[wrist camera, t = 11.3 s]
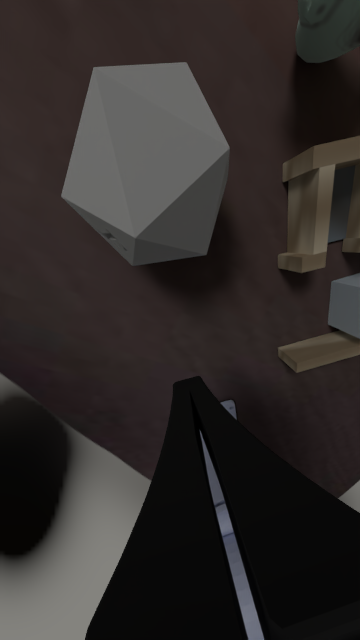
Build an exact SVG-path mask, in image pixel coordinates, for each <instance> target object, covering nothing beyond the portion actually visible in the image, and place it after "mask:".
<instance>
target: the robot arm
mask: <svg viewBox="0 0 360 640" xmlns="http://www.w3.org/2000/svg"><path fill="white" fill-rule="evenodd" d="M85 640H360V513H359V512H357V511H356V510H354V509H352V508H351V507H349V506H348V505H346V504H345V503H343V502H342V501H340V500H339V499H337V498H336V497H334V496H333V495H331V494H330V493H328V492H327V491H326V490H324V489H323V488H321V487H320V486H318V485H317V484H316V483H314V482H313V481H311V480H310V479H308V478H307V477H306V476H304V475H303V474H302V473H300V472H299V471H298V470H296V469H295V468H294V467H292V466H291V465H290V464H288V463H287V462H286V461H284V460H283V459H282V458H280V457H279V456H278V455H276V454H275V453H274V452H273V451H271V450H270V449H269V448H268V447H266V446H265V445H264V444H263V443H262V442H260V441H259V440H258V439H257V438H256V437H255V436H253V435H252V434H251V433H250V432H249V431H248V430H247V429H246V428H245V427H244V426H242V425H241V424H240V423H239V422H238V421H237V417H236V410H235V403H234V401H233V400H228V401H224V402H221V403H220V402H219V401H218V400H217V399H216V397H215V396H214V395H213V394H212V392H211V391H210V390H209V389H208V387H207V386H206V385H205V383H204V382H203V380H202V378H201V377H200V376H196V377H192V378H189V379H185V380H182V381H178V382H175V383H174V384H173V397H172V405H171V411H170V417H169V422H168V427H167V431H166V435H165V439H164V443H163V447H162V450H161V454H160V457H159V460H158V464H157V467H156V470H155V473H154V476H153V479H152V481H151V484H150V487H149V490H148V493H147V496H146V498H145V501H144V503H143V506H142V508H141V511H140V513H139V516H138V518H137V521H136V523H135V526H134V528H133V530H132V532H131V535H130V537H129V540H128V542H127V544H126V547H125V549H124V551H123V554H122V556H121V558H120V560H119V563H118V565H117V567H116V569H115V571H114V574H113V575H112V578H111V580H110V582H109V584H108V586H107V588H106V590H105V592H104V594H103V597H102V599H101V601H100V603H99V605H98V607H97V609H96V611H95V614H94V616H93V618H92V620H91V622H90V625H89V627H88V630H87V633H86V637H85Z"/></svg>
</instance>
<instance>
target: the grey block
mask: <svg viewBox="0 0 360 640" xmlns="http://www.w3.org/2000/svg"><path fill="white" fill-rule="evenodd" d="M328 325H331V326H333V327H335V328H337V329H339V330H342V331H344V332H346V333H348V334H350V335H352V336H355V337H357V338H359V339H360V273H358V274H355V275H351V276H348V277H345V278H341V279H338V280H334V281H332V284H331V295H330V306H329V317H328Z"/></svg>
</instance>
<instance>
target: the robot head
mask: <svg viewBox="0 0 360 640" xmlns="http://www.w3.org/2000/svg"><path fill="white" fill-rule="evenodd" d="M298 14H299V22H298V26H297V31H296V35H295V40H296V49H297V55H298V56H300V57H301V58H302V59H303V60H304V61H305V62H306V63H321V62H325V61H328V60H332V59H335V58H337V57H339V56H341V55H343V54H345V53H347V52H349V51H351V50H353V49H355V48H357V47H359V46H360V0H298Z"/></svg>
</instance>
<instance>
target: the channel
mask: <svg viewBox="0 0 360 640" xmlns="http://www.w3.org/2000/svg"><path fill="white" fill-rule="evenodd" d="M287 181H289V184H288V238H287V253H283V254H279V255H278V268H280V269H285V270H290V271H295V272H299V273H303V272H307V271H311V270H315V269H319V268H323V267H325V262H326V252H327V243H329V242H333V241H337V240H341V239H343V246H342V252H356V253H360V136H356V137H352V138H347V139H343V140H338V141H334V142H329V143H325V144H320V145H316V146H313V147H311V148H309V149H308V150H306V151H304V152H303V153H301V154H299V155H297V156H296V157H294V158H292V159H290V160H289V161H287V162H285V163H283V182H287ZM356 355H360V339H359V338H357V337H355V336H352V335H350V334H348V333H346V332H344V331H342V330H339V331H336V332H332V333H329V334H325V335H321V336H318V337H314V338H311V339H307V340H304V341H300V342H296V343H293V344H289V345H286V346H282V347H279V348H278V357H279V358H281V359H282V360H283V361H284V362H285V363H286V364H287V365H288V366H290V367H291V368H292V369H293V370H294V371H295V372H296V373H297V372H301V371H304V370H308V369H311V368H315V367H318V366H322V365H325V364H329V363H332V362H335V361H339V360H342V359H346V358H349V357H353V356H356Z"/></svg>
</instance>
